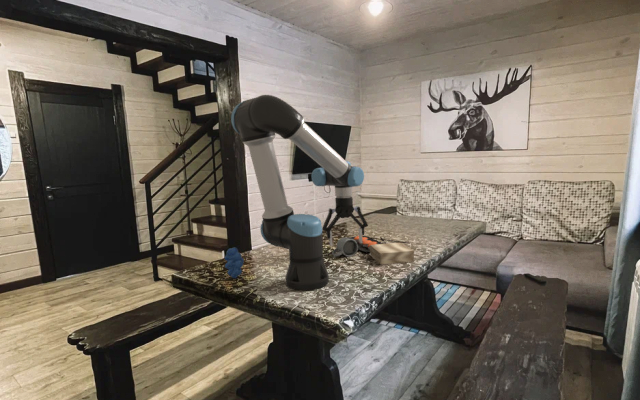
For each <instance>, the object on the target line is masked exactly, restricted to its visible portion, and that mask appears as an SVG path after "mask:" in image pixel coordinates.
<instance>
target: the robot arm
mask: <svg viewBox="0 0 640 400" xmlns="http://www.w3.org/2000/svg"><path fill="white" fill-rule="evenodd" d="M231 112H232V113H231V115H230V118H231V119H230V120H231V126H232V128H233V130H234V131H235V132H236V133H237V134H239V135H240V137H241V141H242V143H243V144H244V145H245V146H247V147H248V150H249V154H250V158H251V161H252V166H253V170H254V173H255V177H256V181H257V185H258V189H259V194H260V196H261V200H262V204H263V209H264V211H263V213H262V215H261V217H262V220H261V224H260V230H259V231H260V234H261V237H262V238H263V240H264V241H265V242H267V243H268V244H270V245H271V246H274V247H279V248H283V249H286V250H289V251H288V253H289V263H288V267H287V271H286V275H285V285H286V286H287V287H288V288H290V289H291V290H297V291H311V290H318V289H321V288H324V287H326V286H327V285H328V284H329V282H330V277H329V276H330V275H329V271H328V270H327V266H326V264H325V262H324V254H323V253H324V251H323V250H324V249H323V247H324V246H323V231H326V238H327V239H329V246H330V247H333V245H334V244H333V232H332V229H333V228H334V227H335V225H336V223H337V222H338V221H339V220H340V219H345V218H346V219H347V218H351V219H352V220H353V221H354V222H355V223H356V224H357V225H358V226H359V227H358V236H359V242H360V243H362V236H365V228H366V227H367V228H368V226H369V224H368V222H367V221H366V218H365V217H364V215H363V213H362V210H361V207H360V206H359V205H356V206H354V202H353V199H354V198H353V187H355V188H356V187H359V186H361V185H362V184H363V182H364V181H365V173H364V171H363V169H362V167H359V166H354V165H353V166H352V165H351V164H352V163H351V162H350V161H348V160H345V159H344V158H343V157H342V155H340V154H339V153H338V152H337V151H336V150H335V149H333V147H331V146H330V145H329V144H328V143H327V142H326V141H325V140H324V139H323V138H322V137H321V136H320V135H318V133H317V132H315V130H313V128H311V127H310V126H309V125H308V124H307V123H306V122H305V121H304V119H305V118H304V116H303V115H302V114H301V113H300V112H299V111H298V110H297V109H295V108H294V107H293V106H292V105H290V104H289V103H288V102H286V101H285V100H284V99H281V98H279V97H277V96H276V95H272V94H261V95H259V96H257V97H256V96H255V97H252V98H250V99H246V100H243V101H241V102H240V103H238V104H237V105H236V106H234V109H233V110H232V111H231ZM276 135H278V136H280V137H281V138H283V140H289V141H291V143H293V144H294V145H295V146H297V148H298V149H300V150H301V151H302V152H304V154H306V155H307V156H308V157H310V158H311V159H312V160H313V161H314V162H316V163H317V164H318V165H319V166H320V167H317V168H314V169H313V170H312V173H311V182H312V183H313V185H314V186H316V187H325V186H327V187H330V186H331V187H334V196H335V208H328V213H327V217H326V218H325V221H324V223H323V226H322V220H321V219H320V217H318V216H317V215H313V214H305V213H295V212H294V209H293V207H292V206H290V205H289V204H288V202H287V197H286V193H285V188H284V184H283V180H282V176H281V172H280V167H279V163H278V159H277V155H276V151H275V146H274V143H273V141H274V139H275V137H276ZM354 211H355V212H356V213H357V215H358V217H359V219H360V220H361V221H360V220H359V219H358V218H357V217H356V216H355V214H354ZM334 213H336V214H335V216H334V218H333V219H332V220H331V218H332V216H333V215H334ZM330 221H331V222H330Z"/></svg>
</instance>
